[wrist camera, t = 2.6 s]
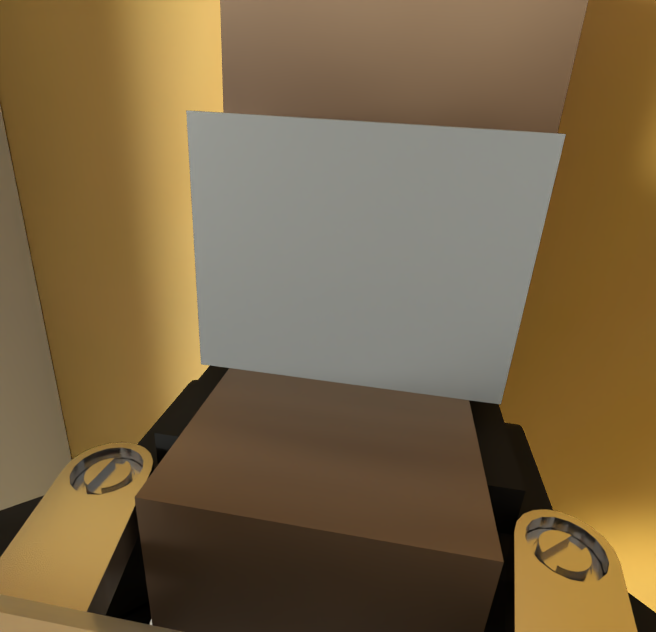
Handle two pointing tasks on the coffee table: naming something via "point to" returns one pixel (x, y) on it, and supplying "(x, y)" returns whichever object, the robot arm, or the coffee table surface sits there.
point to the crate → (366, 248)
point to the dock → (24, 362)
